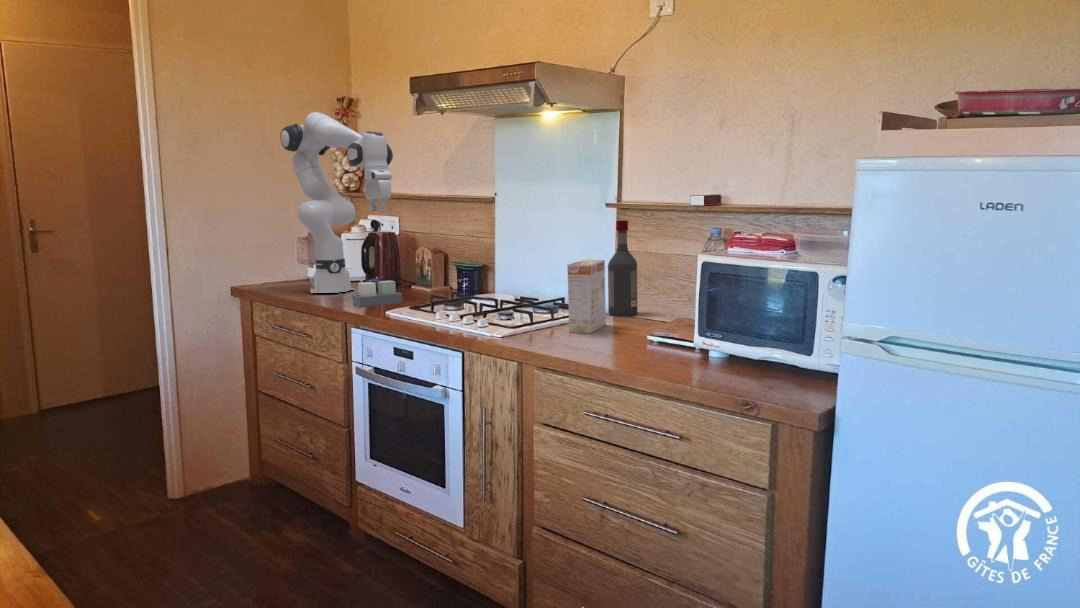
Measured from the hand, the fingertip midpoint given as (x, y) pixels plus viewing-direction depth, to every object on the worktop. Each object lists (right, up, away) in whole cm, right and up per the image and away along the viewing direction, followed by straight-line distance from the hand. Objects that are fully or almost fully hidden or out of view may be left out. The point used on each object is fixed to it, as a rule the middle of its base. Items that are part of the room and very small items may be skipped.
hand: (378, 211), depth 289 cm
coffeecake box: (+76, -43, -70) cm, 112 cm away
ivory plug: (-1, -36, -12) cm, 38 cm away
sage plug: (+5, -35, -9) cm, 36 cm away
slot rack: (+2, -36, -11) cm, 37 cm away
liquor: (+89, -39, -45) cm, 107 cm away
